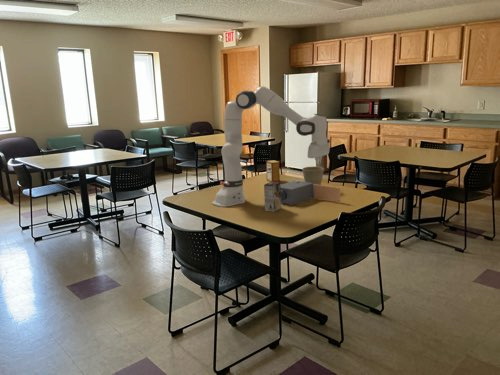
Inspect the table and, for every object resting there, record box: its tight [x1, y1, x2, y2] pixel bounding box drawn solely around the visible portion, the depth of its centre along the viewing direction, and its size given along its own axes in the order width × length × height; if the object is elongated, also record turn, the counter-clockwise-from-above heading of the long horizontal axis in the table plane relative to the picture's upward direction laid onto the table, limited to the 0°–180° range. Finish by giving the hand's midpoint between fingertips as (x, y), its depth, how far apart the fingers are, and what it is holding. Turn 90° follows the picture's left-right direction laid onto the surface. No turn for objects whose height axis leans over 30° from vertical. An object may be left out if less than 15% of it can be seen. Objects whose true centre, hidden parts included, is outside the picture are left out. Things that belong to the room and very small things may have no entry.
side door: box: [312, 184, 341, 203], centre depth 258 cm, size 20×2×9 cm, turn 48°
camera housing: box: [280, 180, 314, 206], centre depth 262 cm, size 24×14×11 cm, turn 135°
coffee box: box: [263, 182, 282, 213], centre depth 242 cm, size 9×6×16 cm
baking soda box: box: [265, 160, 281, 183], centre depth 319 cm, size 10×6×16 cm
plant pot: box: [301, 166, 325, 185], centre depth 284 cm, size 15×15×16 cm
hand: (318, 163), depth 249 cm, fingers closed
